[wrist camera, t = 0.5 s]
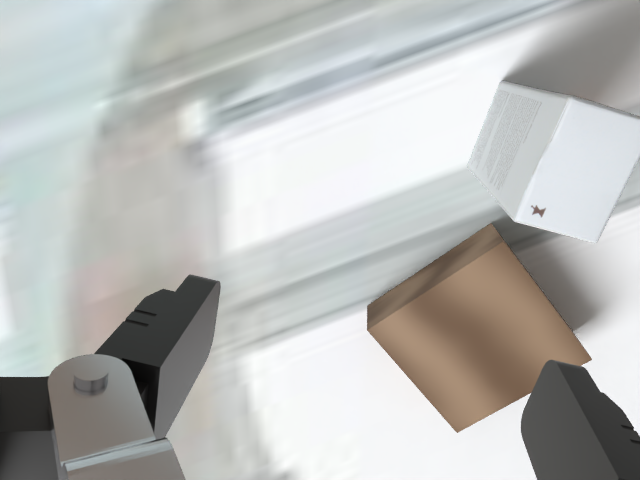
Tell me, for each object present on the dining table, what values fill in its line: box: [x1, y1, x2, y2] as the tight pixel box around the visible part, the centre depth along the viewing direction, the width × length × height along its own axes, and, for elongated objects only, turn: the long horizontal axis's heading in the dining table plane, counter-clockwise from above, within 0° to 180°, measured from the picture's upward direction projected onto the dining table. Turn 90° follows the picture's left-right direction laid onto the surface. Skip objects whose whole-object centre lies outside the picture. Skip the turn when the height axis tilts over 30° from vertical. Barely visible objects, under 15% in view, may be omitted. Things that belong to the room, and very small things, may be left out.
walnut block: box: [367, 223, 592, 433], centre depth 38 cm, size 11×11×4 cm
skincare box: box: [467, 81, 640, 243], centre depth 28 cm, size 6×4×12 cm
